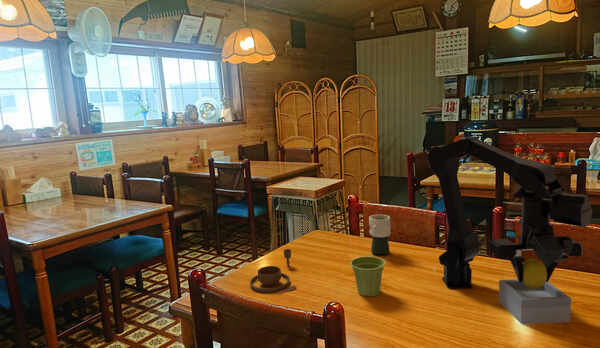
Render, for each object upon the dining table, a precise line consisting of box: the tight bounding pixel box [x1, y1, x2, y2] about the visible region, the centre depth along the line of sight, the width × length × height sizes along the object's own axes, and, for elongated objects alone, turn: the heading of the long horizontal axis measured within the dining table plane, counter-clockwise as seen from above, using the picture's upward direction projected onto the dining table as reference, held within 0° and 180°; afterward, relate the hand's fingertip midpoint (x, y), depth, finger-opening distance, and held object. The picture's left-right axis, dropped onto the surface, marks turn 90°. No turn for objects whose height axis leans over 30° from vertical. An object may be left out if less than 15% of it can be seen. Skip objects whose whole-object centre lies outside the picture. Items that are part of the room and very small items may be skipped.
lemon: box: [522, 257, 547, 290], centre depth 97 cm, size 6×6×8 cm
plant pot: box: [350, 255, 386, 297], centre depth 112 cm, size 9×9×9 cm
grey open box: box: [498, 278, 572, 325], centre depth 98 cm, size 11×11×6 cm
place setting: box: [249, 248, 297, 296], centre depth 124 cm, size 18×20×6 cm
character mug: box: [368, 214, 391, 255], centre depth 141 cm, size 11×7×13 cm, turn 148°
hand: (533, 281), depth 97 cm, fingers closed on lemon, 5 cm apart
